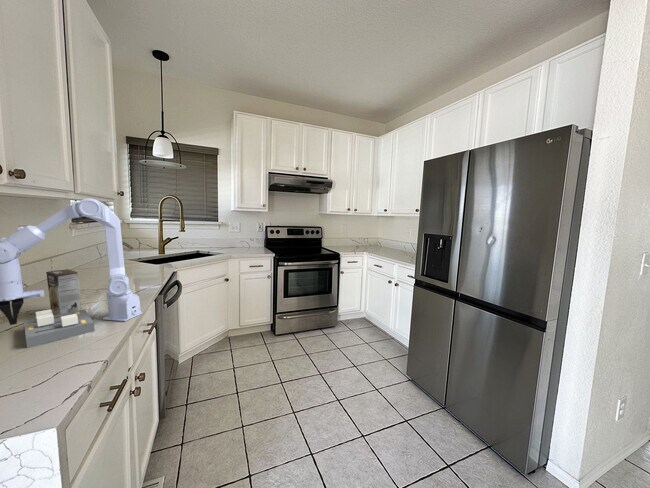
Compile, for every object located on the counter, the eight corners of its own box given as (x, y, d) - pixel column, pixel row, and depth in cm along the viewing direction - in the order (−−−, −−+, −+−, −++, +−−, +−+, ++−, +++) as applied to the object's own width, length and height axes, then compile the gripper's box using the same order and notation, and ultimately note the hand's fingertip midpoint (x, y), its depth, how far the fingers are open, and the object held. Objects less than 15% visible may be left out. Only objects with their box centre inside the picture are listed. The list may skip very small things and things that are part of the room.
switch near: (76, 320, 88) (75, 313, 88) (78, 323, 86) (77, 316, 86) (61, 323, 85) (60, 316, 85) (62, 326, 83) (61, 319, 83)
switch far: (51, 315, 91) (50, 309, 91) (52, 318, 89) (51, 311, 89) (36, 319, 89) (35, 312, 88) (36, 321, 87) (36, 314, 86)
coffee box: (50, 312, 103) (45, 271, 101) (71, 307, 108) (67, 268, 106) (60, 317, 99) (55, 274, 97) (82, 311, 104) (78, 271, 102)
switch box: (85, 316, 99) (84, 309, 99) (94, 330, 88) (93, 322, 88) (25, 330, 88) (24, 321, 88) (27, 348, 77) (25, 337, 77)
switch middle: (53, 320, 88) (52, 313, 88) (54, 323, 86) (53, 316, 86) (37, 323, 85) (36, 316, 85) (37, 326, 83) (37, 319, 83)
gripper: (-33, 288, 74) (-26, 335, 76) (42, 279, 85) (47, 320, 87) (-31, 284, 79) (-24, 327, 80) (41, 275, 90) (45, 314, 91)
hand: (13, 323), depth 84 cm, fingers closed
